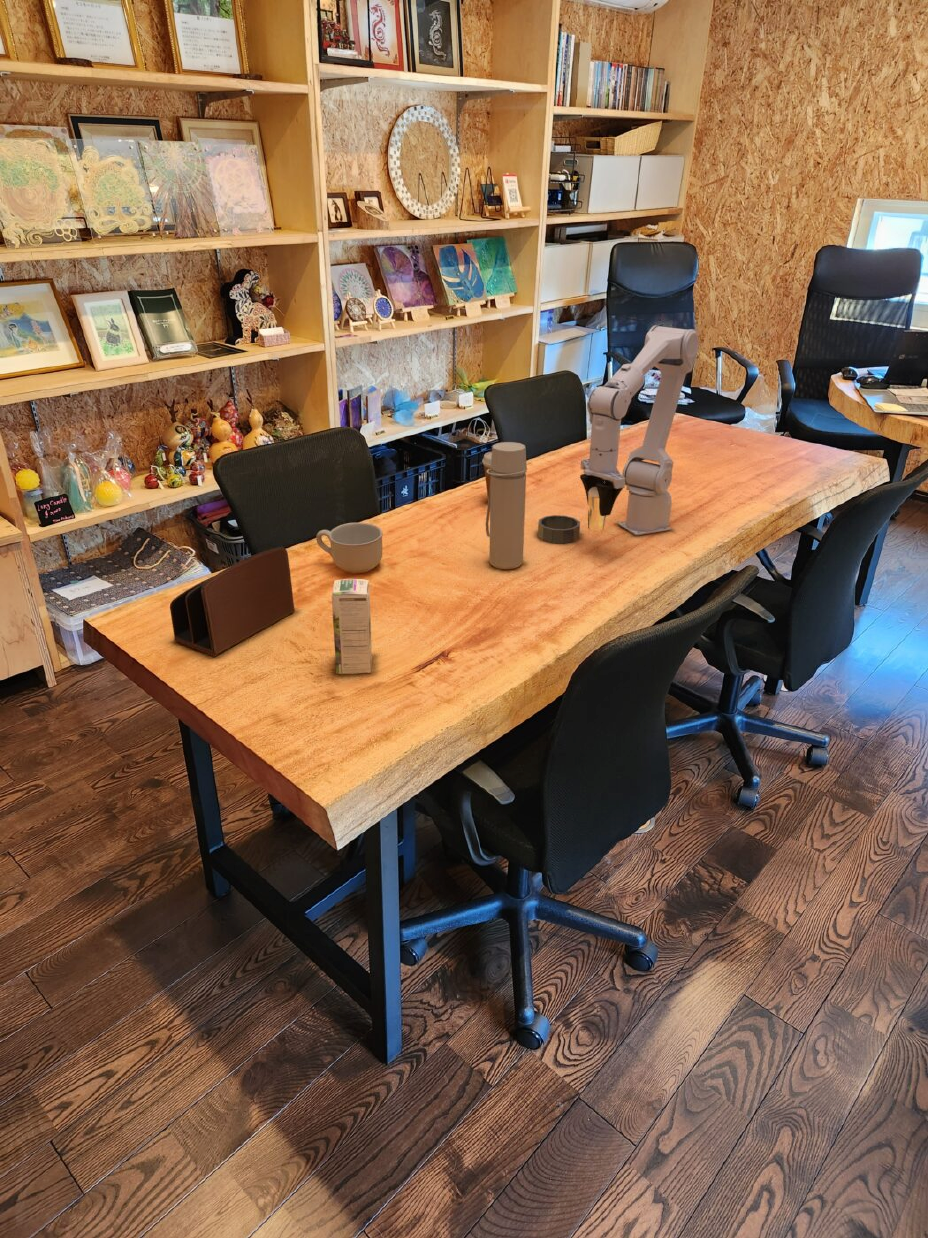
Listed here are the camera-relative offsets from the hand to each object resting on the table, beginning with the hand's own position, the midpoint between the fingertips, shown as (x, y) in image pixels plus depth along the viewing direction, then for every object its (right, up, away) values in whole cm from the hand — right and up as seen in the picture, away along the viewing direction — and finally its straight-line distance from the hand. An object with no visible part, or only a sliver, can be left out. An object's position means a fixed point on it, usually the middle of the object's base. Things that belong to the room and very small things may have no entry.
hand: (599, 511), depth 174 cm
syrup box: (-46, -31, -38) cm, 67 cm away
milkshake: (0, -4, +2) cm, 4 cm away
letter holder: (-69, -24, -26) cm, 78 cm away
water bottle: (-20, -11, 0) cm, 23 cm away
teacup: (-52, -12, -2) cm, 53 cm away
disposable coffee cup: (-19, +6, +33) cm, 38 cm away
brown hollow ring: (-7, -4, +13) cm, 15 cm away
